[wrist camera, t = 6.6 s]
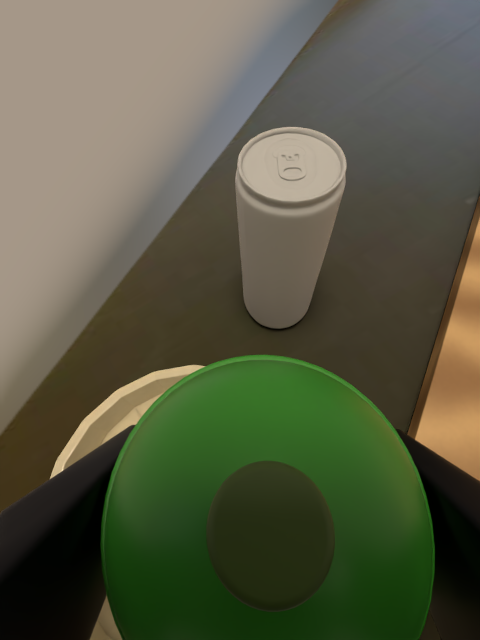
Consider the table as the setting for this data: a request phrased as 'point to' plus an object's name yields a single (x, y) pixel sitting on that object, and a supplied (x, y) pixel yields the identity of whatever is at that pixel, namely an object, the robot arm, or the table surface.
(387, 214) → the table surface
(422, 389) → the cutting board
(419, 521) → the green spray can
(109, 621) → the bowl
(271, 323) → the beverage can
